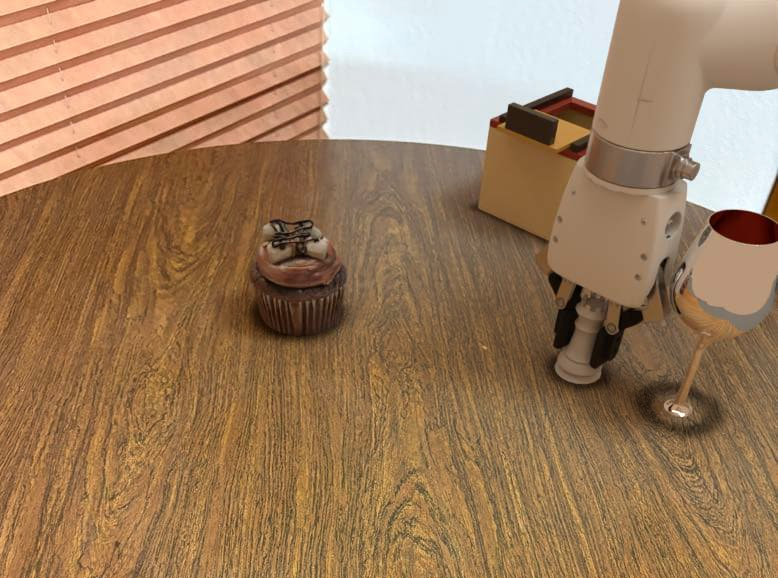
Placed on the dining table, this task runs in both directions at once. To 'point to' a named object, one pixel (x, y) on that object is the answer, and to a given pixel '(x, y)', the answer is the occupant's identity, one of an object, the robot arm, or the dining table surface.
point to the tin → (532, 167)
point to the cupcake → (298, 279)
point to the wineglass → (724, 284)
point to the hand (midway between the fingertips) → (582, 350)
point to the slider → (540, 128)
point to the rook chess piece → (583, 342)
